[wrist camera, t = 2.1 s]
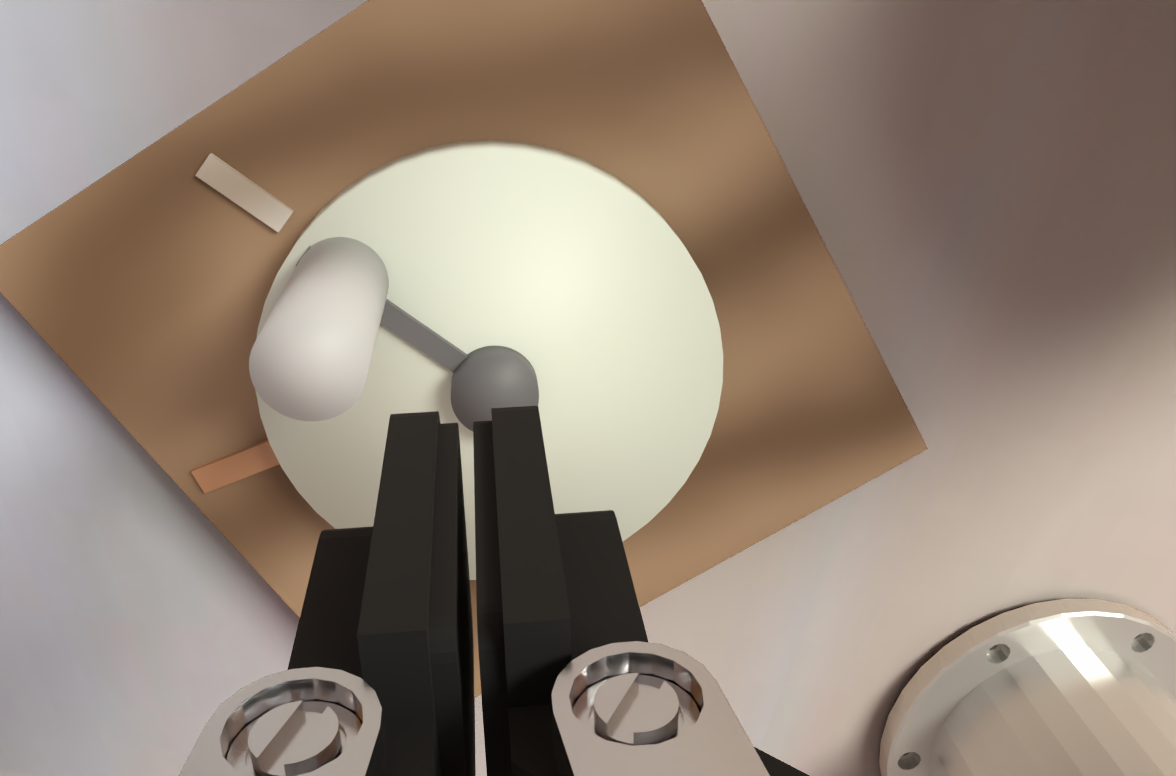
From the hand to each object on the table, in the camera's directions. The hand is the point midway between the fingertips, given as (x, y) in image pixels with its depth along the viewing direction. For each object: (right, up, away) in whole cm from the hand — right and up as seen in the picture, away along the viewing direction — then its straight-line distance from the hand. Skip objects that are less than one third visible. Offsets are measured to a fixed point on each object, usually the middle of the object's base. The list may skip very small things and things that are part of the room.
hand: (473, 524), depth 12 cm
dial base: (-2, +3, +19) cm, 20 cm away
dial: (-1, +2, +18) cm, 18 cm away
